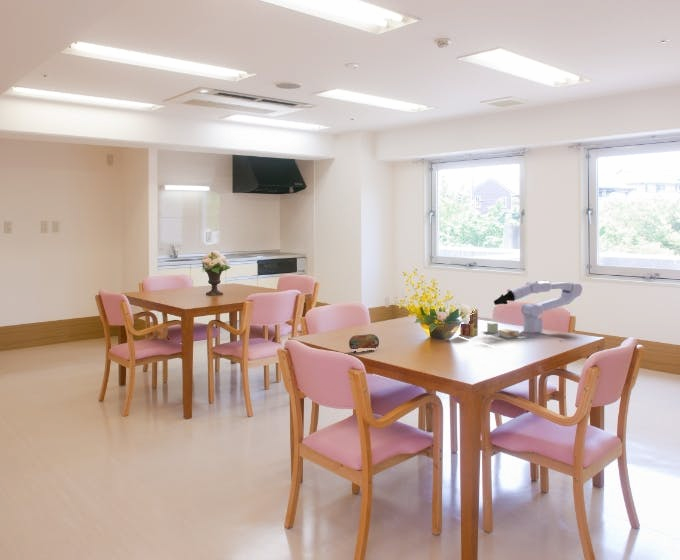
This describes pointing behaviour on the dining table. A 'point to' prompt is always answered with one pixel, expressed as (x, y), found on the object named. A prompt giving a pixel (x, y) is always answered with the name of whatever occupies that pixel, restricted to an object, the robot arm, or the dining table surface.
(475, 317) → the candy box
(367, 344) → the tin
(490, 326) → the sage block
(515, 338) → the slate mat
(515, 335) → the cream base block
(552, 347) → the dining table surface
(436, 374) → the dining table surface
